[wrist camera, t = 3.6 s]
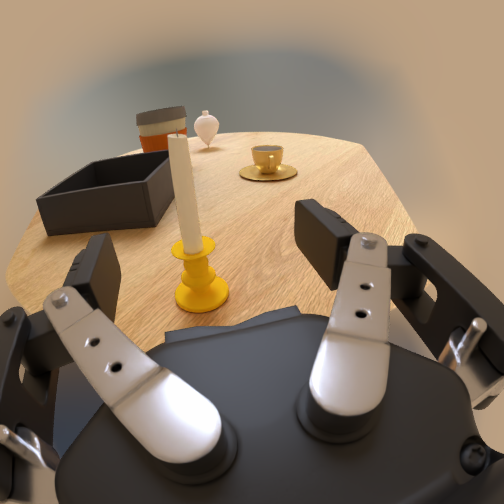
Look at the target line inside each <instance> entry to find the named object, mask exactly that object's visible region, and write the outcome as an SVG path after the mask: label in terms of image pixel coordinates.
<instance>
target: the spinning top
mask: <svg viewBox="0 0 504 504" xmlns="http://www.w3.org/2000/svg"><path fill="white" fill-rule="evenodd" d="M202 114H203V116H200V117H199V118H198V119H197V120H196V121H195V123H194V129H195V132H196V133H197V135H198V136H199V137H200V138H201V140H202V141H203V142H204V143H205V144H206V145H208V148H209V145H210V143H211V142H212V140H213V139H214V137H215V135H216V133H217V131H218V128H219V122H218V120H217V119H216V118H215V117H214V116H211V115H208V111H202Z"/></svg>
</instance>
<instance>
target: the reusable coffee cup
mask: <svg viewBox="0 0 504 504" xmlns="http://www.w3.org/2000/svg"><path fill="white" fill-rule="evenodd" d="M185 117H186V112H185V107H184V106H178V107H170V108H163V109H158V110H153V111H147V112H143V113H139V114H137V115H136V119H137V126H138V128H139V131H140V136H139V137H140V141H141V145H142V148H143V152H144V153H146V152H153V151H160V150H168V137H167V136H168V135H170V134H176V128H177V132H178V134H183V135H186V133H187V128H186V127H185Z"/></svg>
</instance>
